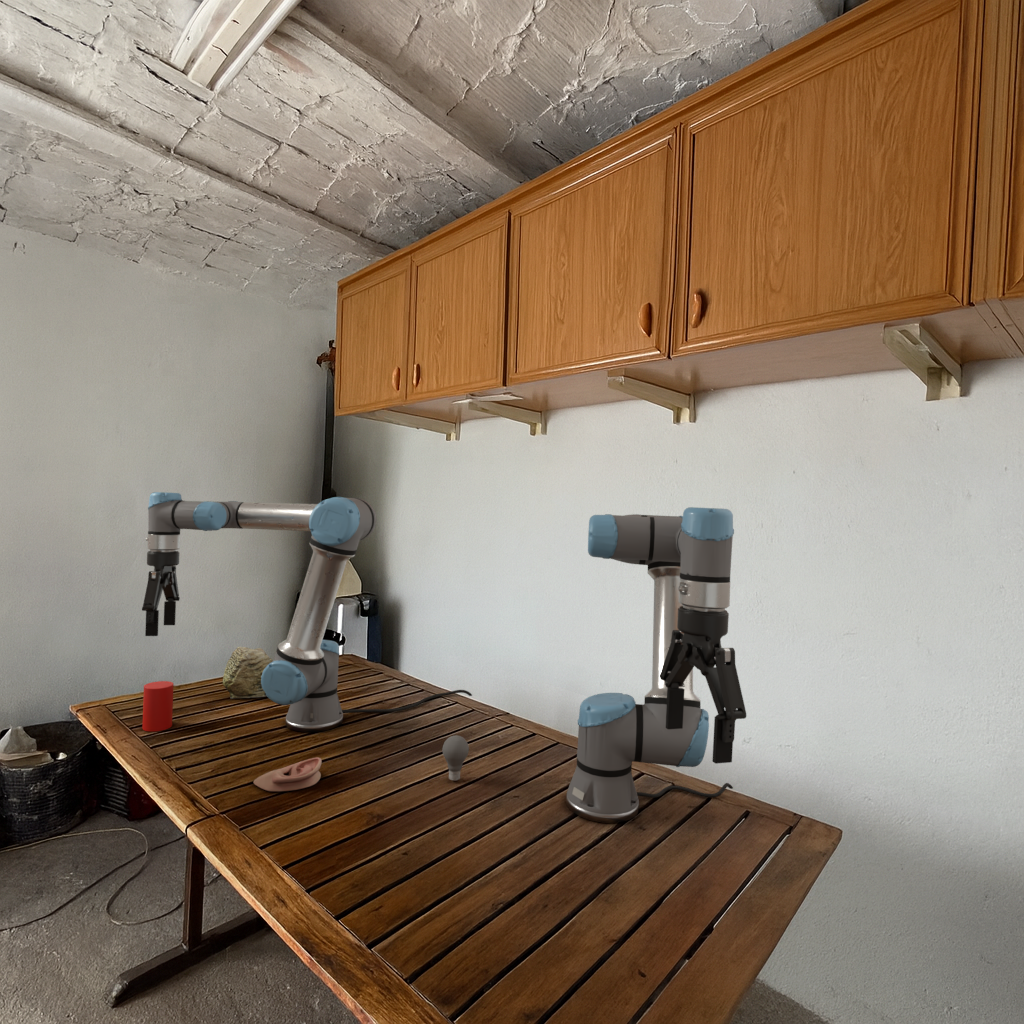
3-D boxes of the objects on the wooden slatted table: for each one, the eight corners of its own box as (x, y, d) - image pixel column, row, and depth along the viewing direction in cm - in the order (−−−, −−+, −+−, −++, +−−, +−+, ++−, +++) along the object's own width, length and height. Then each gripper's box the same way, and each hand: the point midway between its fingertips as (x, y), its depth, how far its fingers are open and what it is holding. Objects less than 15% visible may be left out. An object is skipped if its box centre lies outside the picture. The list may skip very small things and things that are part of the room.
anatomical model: (245, 769, 136) (276, 749, 147) (245, 787, 136) (275, 766, 147) (302, 777, 133) (328, 756, 144) (301, 796, 133) (328, 773, 144)
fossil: (218, 695, 195) (220, 647, 195) (278, 685, 208) (279, 640, 207) (228, 703, 189) (230, 653, 188) (289, 692, 201) (290, 645, 201)
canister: (178, 725, 170) (179, 683, 170) (154, 733, 164) (156, 690, 164) (159, 720, 173) (161, 679, 173) (136, 728, 167) (137, 686, 166)
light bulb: (441, 773, 147) (443, 731, 147) (467, 774, 147) (469, 731, 147) (440, 785, 141) (442, 741, 141) (467, 785, 141) (469, 741, 141)
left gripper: (164, 546, 179) (161, 620, 179) (129, 554, 155) (126, 640, 155) (192, 547, 181) (190, 621, 181) (162, 555, 156) (159, 640, 157)
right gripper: (643, 594, 109) (637, 717, 109) (730, 623, 85) (722, 781, 85) (682, 594, 111) (676, 715, 111) (778, 623, 87) (770, 777, 87)
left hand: (160, 630), depth 168 cm, fingers open, 13 cm apart
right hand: (696, 744), depth 98 cm, fingers open, 13 cm apart
